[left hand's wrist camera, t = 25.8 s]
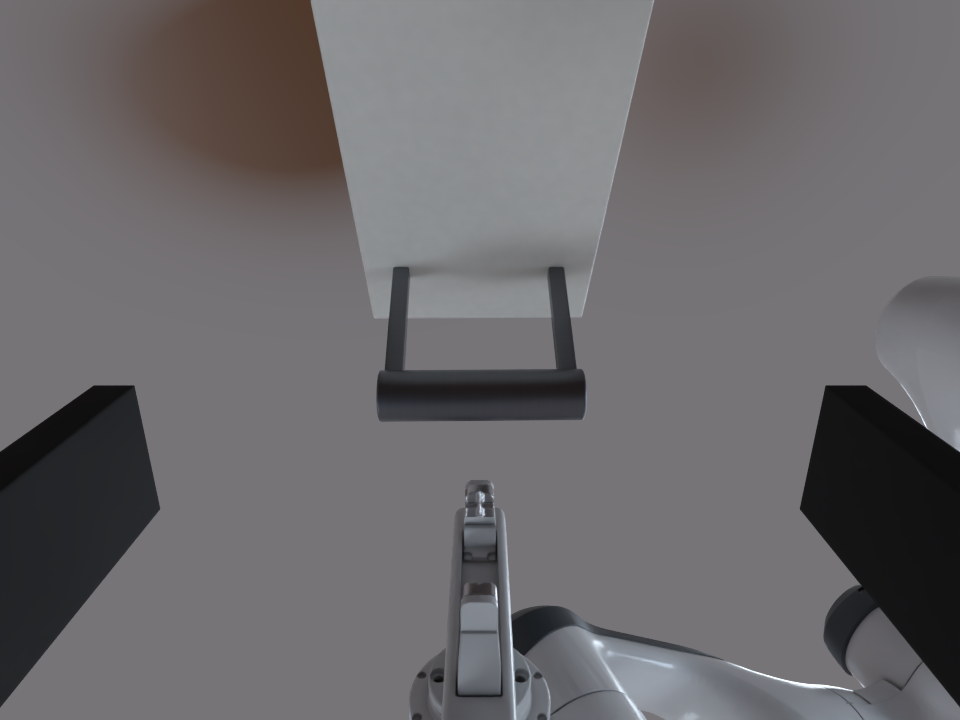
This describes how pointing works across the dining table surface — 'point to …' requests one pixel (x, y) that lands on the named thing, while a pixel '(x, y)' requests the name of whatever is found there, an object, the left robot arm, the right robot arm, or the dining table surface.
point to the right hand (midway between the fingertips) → (479, 532)
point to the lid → (480, 176)
